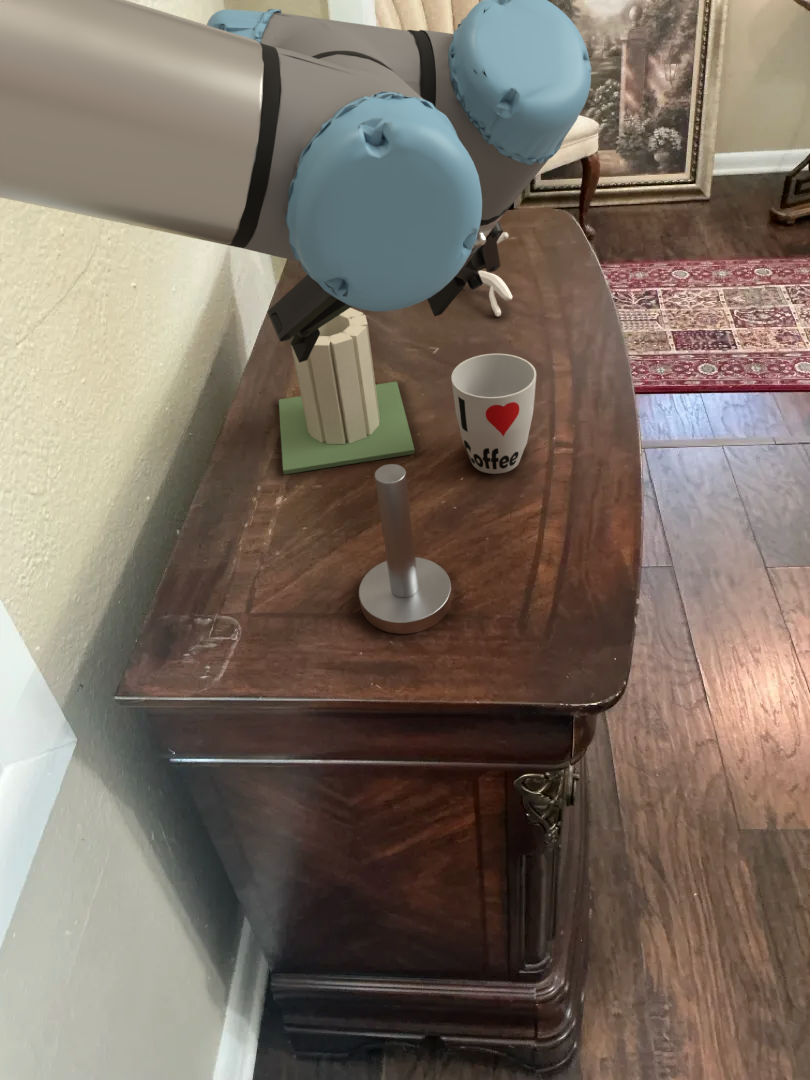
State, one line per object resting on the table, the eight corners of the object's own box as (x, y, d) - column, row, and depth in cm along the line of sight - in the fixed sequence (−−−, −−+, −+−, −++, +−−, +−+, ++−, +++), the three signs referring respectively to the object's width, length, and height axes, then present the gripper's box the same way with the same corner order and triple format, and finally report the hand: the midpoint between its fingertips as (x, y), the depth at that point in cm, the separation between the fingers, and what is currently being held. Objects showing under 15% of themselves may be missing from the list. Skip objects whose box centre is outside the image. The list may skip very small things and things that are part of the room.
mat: (283, 474, 91) (282, 470, 90) (279, 403, 101) (278, 399, 101) (415, 454, 91) (414, 449, 91) (397, 385, 102) (396, 381, 101)
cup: (445, 475, 88) (439, 391, 81) (471, 431, 93) (467, 348, 87) (522, 489, 85) (522, 403, 79) (544, 442, 91) (546, 358, 84)
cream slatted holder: (310, 449, 93) (290, 350, 85) (305, 408, 99) (286, 312, 91) (383, 438, 93) (370, 338, 85) (375, 398, 99) (362, 301, 91)
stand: (365, 641, 72) (343, 514, 63) (356, 576, 78) (334, 451, 69) (459, 625, 73) (450, 496, 63) (443, 561, 79) (432, 435, 69)
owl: (511, 262, 121) (511, 188, 110) (512, 337, 115) (512, 267, 104) (336, 271, 124) (319, 199, 113) (328, 345, 118) (309, 277, 107)
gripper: (289, 313, 53) (253, 407, 74) (613, 208, 61) (500, 320, 81) (241, 202, 53) (219, 327, 74) (571, 111, 61) (468, 247, 81)
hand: (366, 324), depth 77 cm, fingers open, 13 cm apart
